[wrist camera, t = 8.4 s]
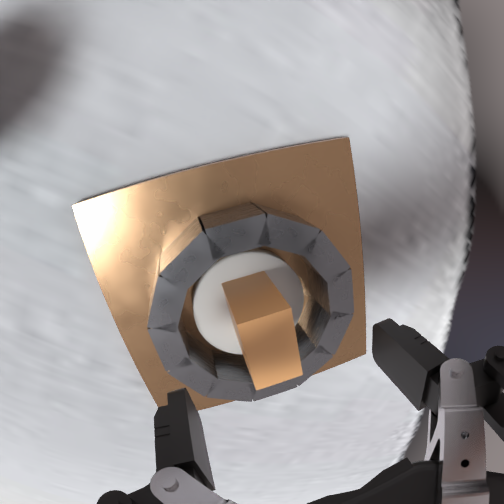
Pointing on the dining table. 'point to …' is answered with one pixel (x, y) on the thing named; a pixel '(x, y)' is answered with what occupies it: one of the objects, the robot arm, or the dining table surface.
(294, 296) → the cap
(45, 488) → the dining table surface
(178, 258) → the board with grey ring
